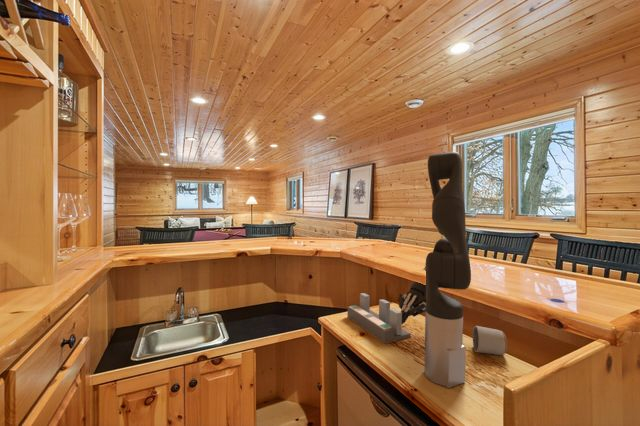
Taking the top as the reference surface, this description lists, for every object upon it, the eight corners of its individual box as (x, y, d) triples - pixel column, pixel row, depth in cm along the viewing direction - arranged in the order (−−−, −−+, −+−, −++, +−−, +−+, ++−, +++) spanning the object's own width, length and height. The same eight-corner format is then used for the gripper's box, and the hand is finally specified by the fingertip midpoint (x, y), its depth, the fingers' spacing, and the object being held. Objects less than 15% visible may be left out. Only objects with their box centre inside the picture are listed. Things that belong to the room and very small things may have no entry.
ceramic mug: (508, 360, 86) (509, 334, 86) (477, 356, 89) (478, 331, 88) (496, 344, 97) (496, 321, 97) (469, 340, 99) (469, 318, 99)
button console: (410, 337, 101) (410, 323, 101) (384, 343, 96) (384, 329, 96) (370, 312, 123) (370, 301, 122) (347, 317, 118) (347, 305, 118)
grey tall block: (401, 334, 100) (401, 312, 100) (396, 335, 99) (397, 313, 99) (393, 329, 103) (394, 308, 103) (389, 330, 103) (389, 309, 102)
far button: (369, 314, 117) (369, 295, 117) (365, 315, 116) (365, 296, 116) (363, 310, 121) (364, 292, 120) (359, 311, 120) (359, 293, 119)
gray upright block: (389, 322, 110) (390, 302, 109) (385, 323, 109) (385, 303, 108) (383, 318, 113) (383, 299, 113) (378, 319, 112) (379, 299, 112)
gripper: (407, 272, 111) (381, 309, 106) (435, 281, 99) (406, 323, 94) (418, 284, 113) (392, 321, 109) (446, 294, 102) (418, 336, 97)
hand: (399, 322), depth 102 cm, fingers closed
